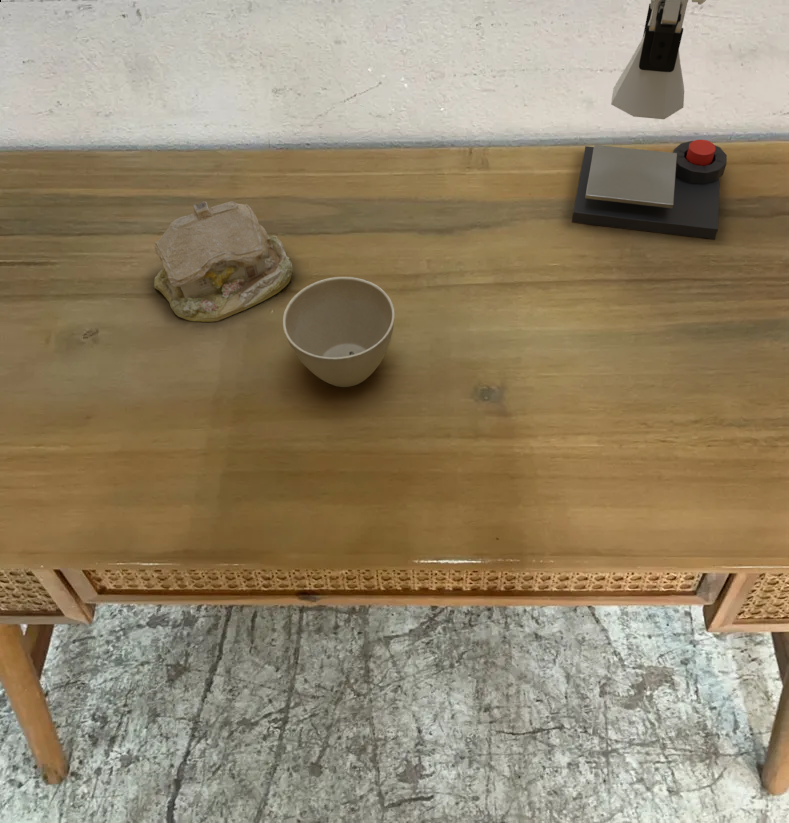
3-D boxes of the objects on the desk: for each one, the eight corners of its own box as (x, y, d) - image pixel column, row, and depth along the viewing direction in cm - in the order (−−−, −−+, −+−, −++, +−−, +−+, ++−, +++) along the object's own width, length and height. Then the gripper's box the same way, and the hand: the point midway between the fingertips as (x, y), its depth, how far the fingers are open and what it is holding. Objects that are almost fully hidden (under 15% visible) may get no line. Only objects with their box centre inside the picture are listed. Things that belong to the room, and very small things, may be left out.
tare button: (712, 152, 93) (716, 140, 91) (711, 168, 91) (715, 156, 90) (686, 150, 93) (689, 138, 92) (685, 165, 92) (688, 153, 90)
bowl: (281, 347, 82) (269, 294, 76) (377, 317, 83) (372, 264, 78) (311, 422, 76) (300, 372, 70) (413, 389, 78) (411, 337, 72)
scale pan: (676, 156, 92) (677, 152, 92) (672, 208, 87) (673, 204, 86) (593, 148, 94) (594, 144, 93) (585, 198, 88) (585, 194, 88)
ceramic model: (170, 336, 83) (141, 261, 75) (148, 266, 90) (119, 190, 82) (303, 295, 86) (289, 218, 78) (272, 230, 92) (256, 153, 84)
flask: (695, 91, 83) (722, -10, 75) (669, 129, 79) (694, 27, 71) (627, 73, 85) (645, -27, 78) (598, 109, 82) (614, 8, 74)
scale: (720, 166, 95) (727, 143, 93) (718, 240, 88) (725, 217, 85) (584, 151, 98) (587, 129, 96) (571, 222, 91) (575, 200, 88)
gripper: (757, -121, 59) (695, 111, 73) (754, -202, 68) (700, 17, 83) (648, -126, 60) (609, 103, 75) (660, -205, 70) (623, 12, 84)
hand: (657, 56), depth 79 cm, fingers closed on flask, 3 cm apart
